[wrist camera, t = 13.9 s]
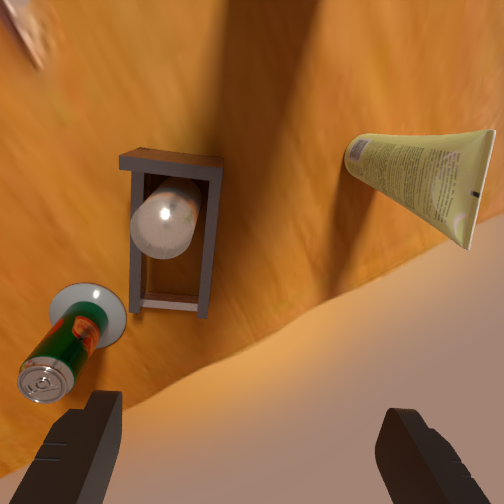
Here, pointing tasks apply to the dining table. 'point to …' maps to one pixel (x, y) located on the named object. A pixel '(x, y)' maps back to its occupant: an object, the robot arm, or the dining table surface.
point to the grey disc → (99, 297)
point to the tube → (428, 175)
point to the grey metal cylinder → (167, 219)
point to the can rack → (212, 170)
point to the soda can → (62, 353)
